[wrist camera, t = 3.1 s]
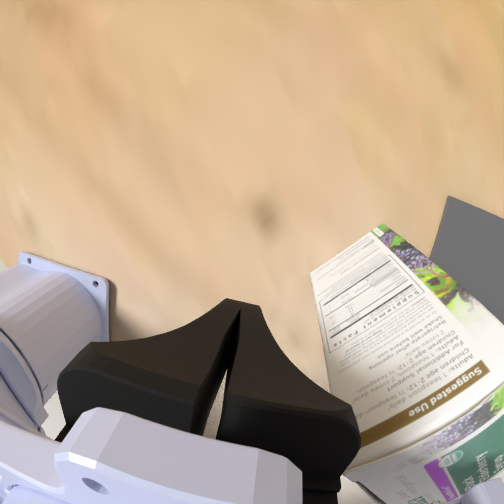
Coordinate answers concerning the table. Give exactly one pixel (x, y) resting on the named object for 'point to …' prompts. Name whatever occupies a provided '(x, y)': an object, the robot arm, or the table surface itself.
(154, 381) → the robot arm
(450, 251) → the rubber mat
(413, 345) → the syrup box
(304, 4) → the table surface
